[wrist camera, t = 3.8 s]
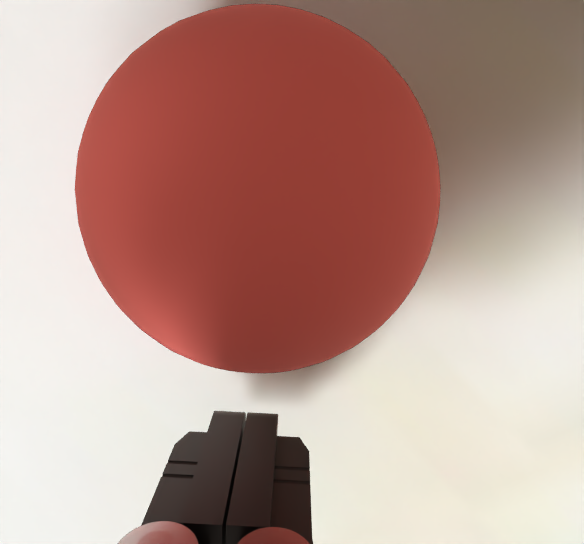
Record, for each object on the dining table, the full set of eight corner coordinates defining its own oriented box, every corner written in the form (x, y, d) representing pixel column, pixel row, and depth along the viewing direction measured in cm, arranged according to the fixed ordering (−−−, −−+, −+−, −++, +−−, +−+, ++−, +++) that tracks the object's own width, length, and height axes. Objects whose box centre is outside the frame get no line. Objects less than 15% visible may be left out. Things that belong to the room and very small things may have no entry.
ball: (394, 425, 10) (377, 194, 13) (570, 267, 5) (471, -50, 8) (86, 406, 9) (146, 172, 12) (-89, 209, 4) (87, -101, 7)
